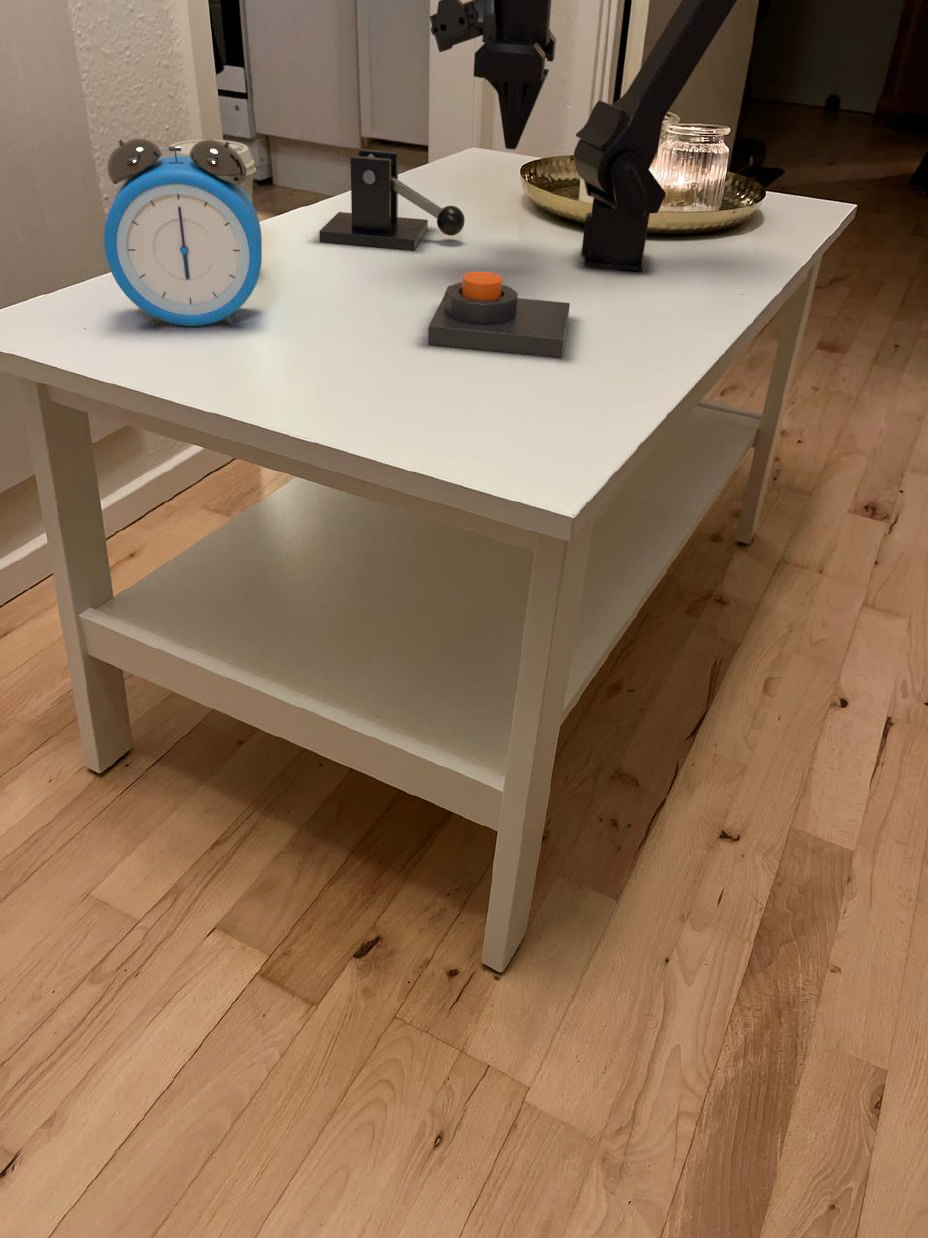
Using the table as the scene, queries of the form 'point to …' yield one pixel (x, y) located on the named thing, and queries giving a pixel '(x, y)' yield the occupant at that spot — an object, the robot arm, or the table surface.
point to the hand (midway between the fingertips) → (510, 148)
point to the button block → (500, 323)
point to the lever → (432, 208)
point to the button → (481, 285)
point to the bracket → (374, 207)
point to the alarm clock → (182, 231)
